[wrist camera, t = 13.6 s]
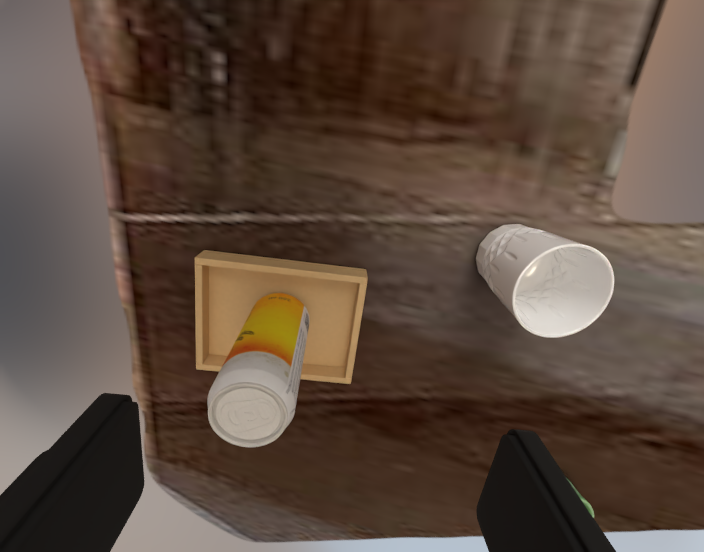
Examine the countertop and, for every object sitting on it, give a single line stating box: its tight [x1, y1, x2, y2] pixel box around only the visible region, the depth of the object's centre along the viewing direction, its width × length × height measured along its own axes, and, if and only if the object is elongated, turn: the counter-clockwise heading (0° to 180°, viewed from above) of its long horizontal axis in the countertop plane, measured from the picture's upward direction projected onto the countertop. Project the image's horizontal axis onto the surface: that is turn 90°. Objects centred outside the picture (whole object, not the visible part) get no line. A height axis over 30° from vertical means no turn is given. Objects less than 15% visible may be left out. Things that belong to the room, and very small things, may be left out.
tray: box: [195, 250, 368, 384], centre depth 38 cm, size 12×16×3 cm
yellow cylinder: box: [207, 293, 310, 447], centre depth 31 cm, size 6×6×15 cm
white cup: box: [476, 224, 614, 338], centre depth 33 cm, size 8×8×10 cm
